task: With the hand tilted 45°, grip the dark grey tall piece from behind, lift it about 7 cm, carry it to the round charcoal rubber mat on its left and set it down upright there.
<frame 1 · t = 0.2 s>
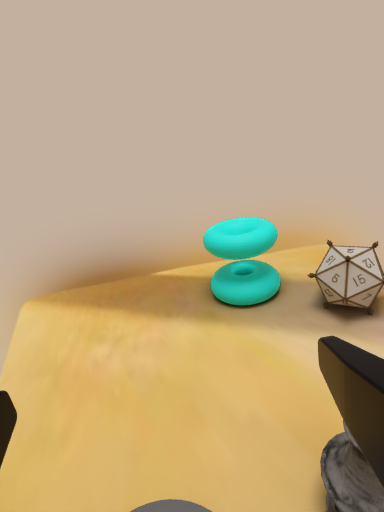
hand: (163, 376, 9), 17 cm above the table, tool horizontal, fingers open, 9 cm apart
donuts: (246, 291, 45), on the table
game die: (348, 306, 38), on the table
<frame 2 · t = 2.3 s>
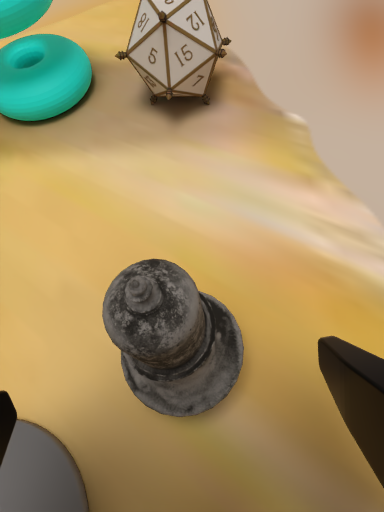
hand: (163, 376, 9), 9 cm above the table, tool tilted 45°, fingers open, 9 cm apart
dark grey tall piece: (189, 358, 18), on the table
donuts: (48, 93, 31), on the table
game die: (182, 95, 28), on the table
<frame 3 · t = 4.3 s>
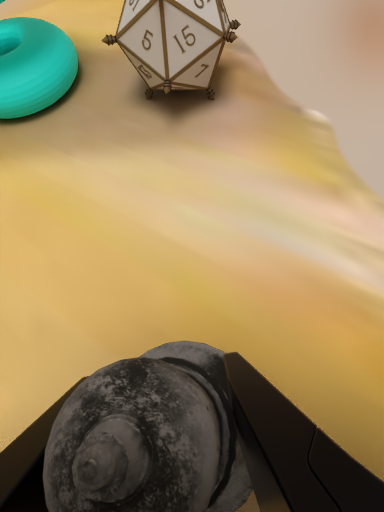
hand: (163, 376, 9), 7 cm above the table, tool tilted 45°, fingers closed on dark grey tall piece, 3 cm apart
dark grey tall piece: (192, 421, 14), on the table, touching gripper
donuts: (28, 87, 27), on the table
game die: (182, 89, 24), on the table
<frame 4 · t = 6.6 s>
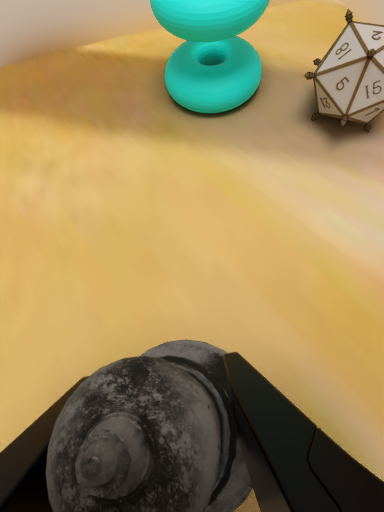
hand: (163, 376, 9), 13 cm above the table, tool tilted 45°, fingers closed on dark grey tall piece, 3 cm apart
dark grey tall piece: (193, 419, 14), point 6 cm above the table, touching gripper
donuts: (213, 87, 33), on the table
game die: (342, 117, 30), on the table
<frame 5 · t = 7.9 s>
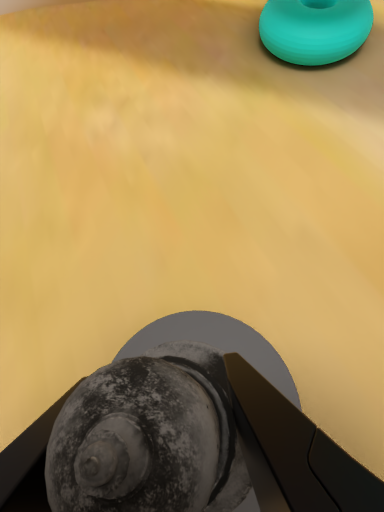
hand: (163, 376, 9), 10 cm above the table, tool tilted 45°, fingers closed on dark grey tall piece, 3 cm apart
dark grey tall piece: (192, 419, 14), point 3 cm above the table, touching gripper
charcoal mat: (196, 411, 17), on the table
donuts: (309, 41, 30), on the table
when the fingers open (9 cm above the table, at t = 8.9 s): dark grey tall piece drops 1 cm, resting on charcoal mat.
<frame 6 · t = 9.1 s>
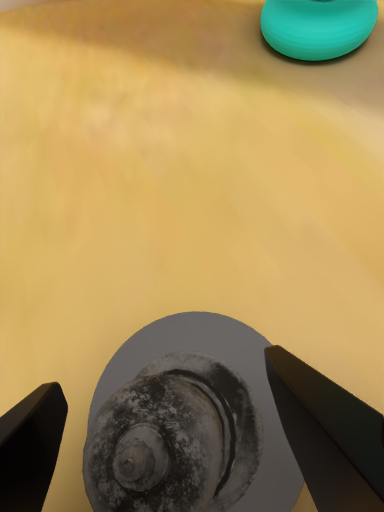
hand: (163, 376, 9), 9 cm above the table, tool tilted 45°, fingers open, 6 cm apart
dark grey tall piece: (195, 422, 15), point 1 cm above the table, touching charcoal mat
charcoal mat: (196, 418, 16), on the table
donuts: (311, 36, 29), on the table
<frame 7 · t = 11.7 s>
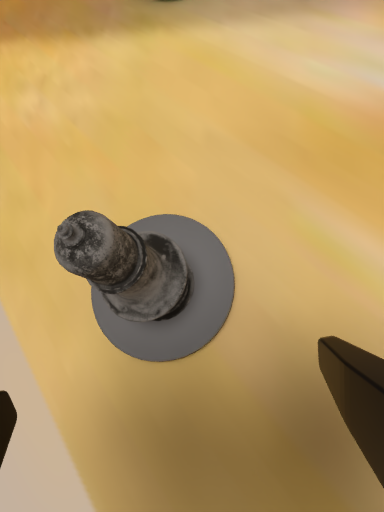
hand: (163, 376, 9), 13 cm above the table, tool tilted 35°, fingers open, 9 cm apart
dark grey tall piece: (160, 285, 23), point 1 cm above the table, touching charcoal mat
charcoal mat: (162, 285, 24), on the table
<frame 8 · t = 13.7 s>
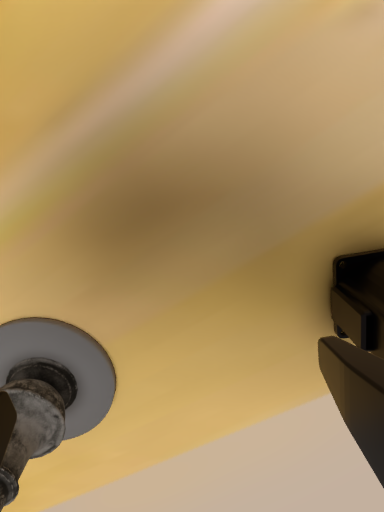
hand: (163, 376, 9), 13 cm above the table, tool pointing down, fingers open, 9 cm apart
dark grey tall piece: (43, 384, 24), point 1 cm above the table, touching charcoal mat
charcoal mat: (45, 379, 24), on the table
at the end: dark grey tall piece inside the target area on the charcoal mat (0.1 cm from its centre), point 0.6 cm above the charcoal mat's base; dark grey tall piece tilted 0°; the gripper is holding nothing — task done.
